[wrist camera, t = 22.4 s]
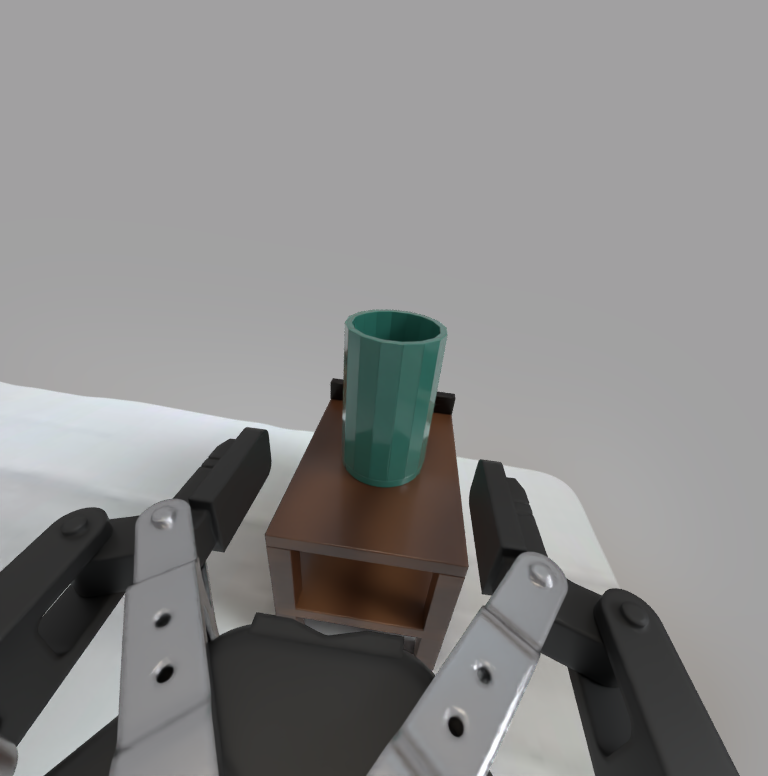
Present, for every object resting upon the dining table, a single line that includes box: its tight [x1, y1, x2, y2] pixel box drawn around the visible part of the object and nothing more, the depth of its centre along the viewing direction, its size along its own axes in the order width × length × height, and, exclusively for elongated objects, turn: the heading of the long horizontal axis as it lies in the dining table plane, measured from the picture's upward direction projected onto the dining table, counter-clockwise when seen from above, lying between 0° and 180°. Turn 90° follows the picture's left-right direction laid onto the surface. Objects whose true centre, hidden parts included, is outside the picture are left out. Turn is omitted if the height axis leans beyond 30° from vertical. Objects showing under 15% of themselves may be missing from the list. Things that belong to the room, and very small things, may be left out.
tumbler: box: [342, 310, 447, 488], centre depth 22 cm, size 6×6×10 cm
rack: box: [265, 378, 469, 670], centre depth 27 cm, size 11×15×14 cm
